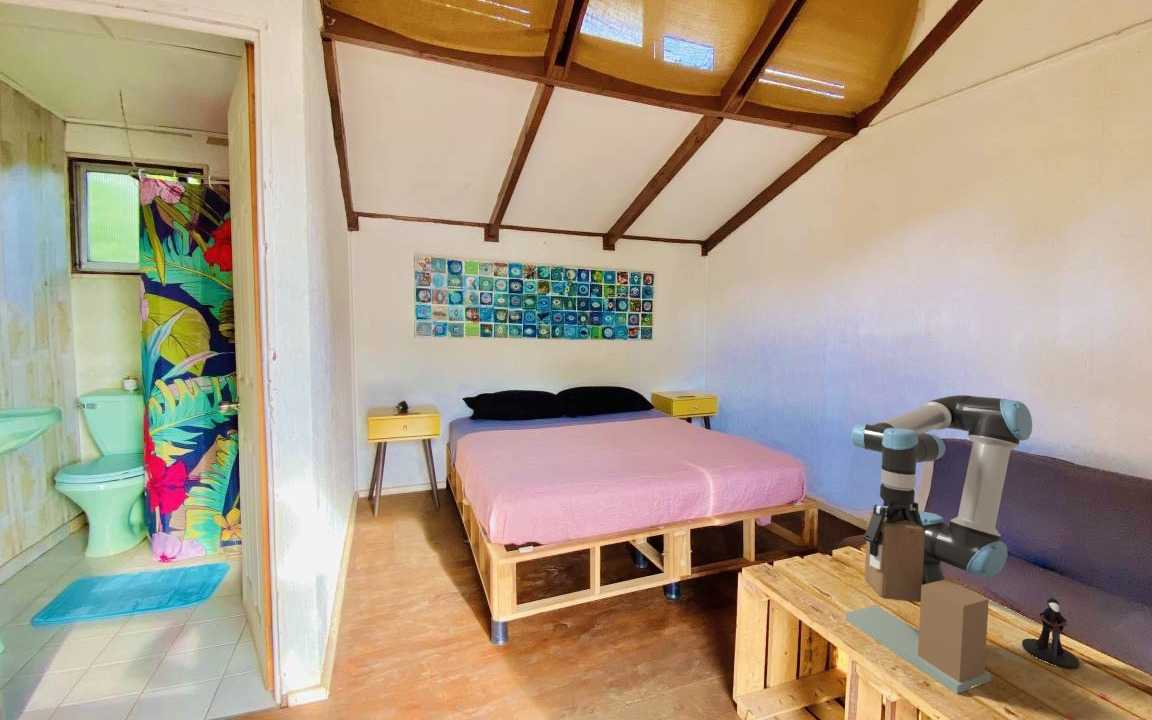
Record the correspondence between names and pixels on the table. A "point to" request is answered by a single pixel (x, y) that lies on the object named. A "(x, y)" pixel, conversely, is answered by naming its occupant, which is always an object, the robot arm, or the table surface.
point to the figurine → (1053, 650)
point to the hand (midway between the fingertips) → (893, 563)
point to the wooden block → (898, 561)
